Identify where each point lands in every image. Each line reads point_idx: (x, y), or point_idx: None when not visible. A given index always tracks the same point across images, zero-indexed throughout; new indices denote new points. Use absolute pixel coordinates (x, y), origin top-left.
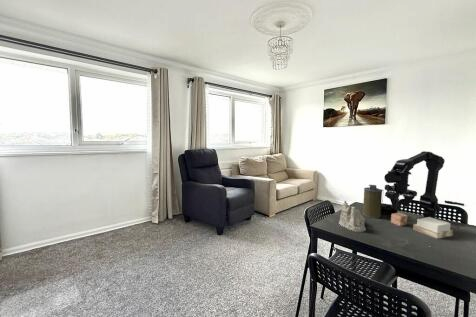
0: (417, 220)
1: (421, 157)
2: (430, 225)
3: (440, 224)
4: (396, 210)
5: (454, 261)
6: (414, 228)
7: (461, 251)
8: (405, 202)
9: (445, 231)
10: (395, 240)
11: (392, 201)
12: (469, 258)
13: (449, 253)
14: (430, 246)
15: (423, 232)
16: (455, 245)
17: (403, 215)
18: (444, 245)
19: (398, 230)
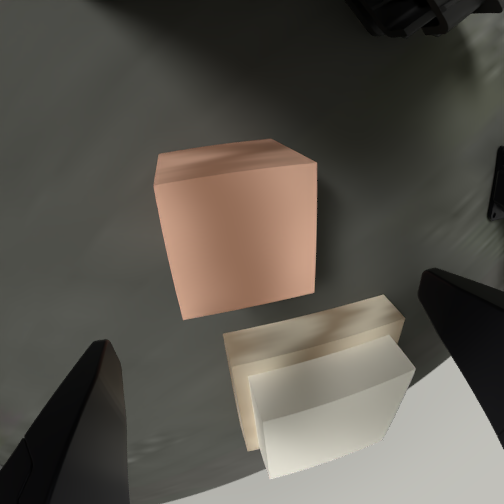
0: (259, 412)
1: None
2: (263, 452)
3: (308, 465)
4: (425, 30)
5: (130, 497)
6: (226, 351)
7: (217, 477)
8: (487, 328)
9: None
10: (4, 415)
11: (31, 501)
12: (193, 493)
13: (158, 483)
14: (130, 462)
15: (233, 389)
16: (249, 456)
17: (275, 279)
18: (201, 459)
19: (85, 336)
